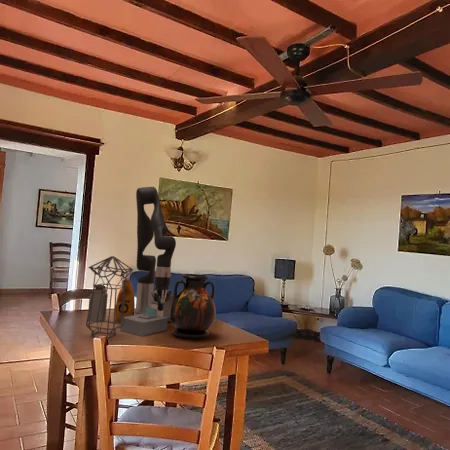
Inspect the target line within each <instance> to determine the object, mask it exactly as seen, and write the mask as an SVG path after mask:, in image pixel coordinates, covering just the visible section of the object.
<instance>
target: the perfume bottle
mask: <svg viewBox="0 0 450 450" xmlns="http://www.w3.org/2000/svg"><path fill="white" fill-rule="evenodd" d="M96 286H100V287H95V291H94V298H93V304H92V311H91V318H90V321H91V322H94V321H96V320H97V315H98V309H99V304H100V298H101V292H102V288H101V287H103V284H101V285H97V284H96ZM92 292H93V289H91V293H90V294H89V298H88V310H87V311H89V307H90V302H91V297H92ZM105 295H106V288H103V294H102V299H101V305H100V310H99V316H98V321H102V318H103V310H104V303H105ZM108 295H109V294H108V293H107V297H106V304H105V312H104V319H103V321H107V308H108ZM90 309H91V308H90ZM89 316H90V313H89ZM88 322H89V318H88ZM91 322H90V323H91Z"/></svg>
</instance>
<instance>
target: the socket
mask: <svg viewBox="0 0 450 450" xmlns="http://www.w3.org/2000/svg"><path fill="white" fill-rule="evenodd" d="M167 321H168V318H167V317H162V316H157V317H154V318H149V319H147V318H142V317H138V316H137V314H134V315H133V316H127V317H124V326H122V327H121V328H119V331H121V332H123V333H124V332H125V333H128V334H132V335H137V336H139V337H144V336H149V335H151V334H152V335H153V334H157V333H161V332H165V331H167V330H168V322H167ZM121 323H123V317H122V320H121ZM119 326H121V324H120V325H119Z"/></svg>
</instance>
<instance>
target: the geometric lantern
mask: <svg viewBox="0 0 450 450" xmlns="http://www.w3.org/2000/svg"><path fill="white" fill-rule="evenodd" d="M112 260H113V263H114V267H113V266H112V267H111V266H110V264H111V261H112ZM95 266H96V267H95ZM124 266H125V267H126V268H125V267H124ZM104 268H105V270H104ZM88 269H90V270H91V272H92V273H94V276H93V277H94V278H93V283H92V284H93V285H92V286H93V287H92V288H93V289H92V290H93V292H92V291H91V294H92V297H91V302H90V307H89V306H88V308H89V311H88V310H87V311H88V312H87V316H86V321H85V322H86V323H85V326H86V328H88V330H89V331H91V335H90V337H92V338H96V337H95V336H96V334H105V335H106V337H108V338H107V339H110V338H112V337H114V336H115V335H117V331H118V330H120V328H121V327H122V326H124V302H125V283H126V278H128V277H129V275H130V274H131V273H132V272H133V271H134V269H133V268H132V267H130V266H129V265H127V264H126V263H125V262H123V261H122V260H121V259H119V258H117V257H115V256H113V255H111V256H109V257H107V258H105V259H103V260H101V261H98V262H96V263H94V264H91V265H90V266H88ZM112 269H113V270H112ZM102 272H104V275H101V273H102ZM110 272H111V273H110ZM106 273H109V274H107V275H106ZM118 273H120V274H118ZM96 275H97V276H98V279H97V281H96ZM125 275H126V276H125ZM110 276H111V277H110ZM115 276H117V277H120V280H119V282H118V283H117V284H111V283H110V282H111V281H112V280H113V278H114V277H115ZM108 277H110V279H109V278H108ZM103 278H105V279H106V281H107V283H105V282H104V280H103ZM100 279H101V281H102V283H98V282H99V280H100ZM124 280H125V283H124V282H123V281H124ZM120 283H122V285H121V284H120ZM119 284H120V285H119ZM96 285H103V287H101V288H102V292H101V298H100V304H99V309H98V315H97V320H96V321H94V322H90V318H91V311H92V304H93V298H94V291H95V287H100V286H96ZM112 286H115V287H112ZM121 288H123V296H122V307H121V318H120V323H116V321H115V310H116V301H117V291H118V290H119V289H120V290H121ZM103 289H106V292H105V293H106V295H105V303H104V310H103V318H102V321H98V316H99V310H100V305H101V299H102V294H103ZM108 289H109V290H110V296H109V297H110V298H109V305H108V306H109V308H108V316H107V317H108V318H107V320H104V321H103V319H104V312H105V304H106V297H107V294H108ZM113 290H114V291H115V293H114V307H113V309H114V311H113V321H110V317H111V307H112V296H113ZM90 308H91V309H90ZM122 309H123V323H121V320H122ZM89 313H90V316H89ZM88 318H89V321H88ZM94 323H96V325H97V326H94V325H92V324H94ZM98 323H100V326H99V324H98ZM103 323H107V326H106V327H102V325H103ZM110 324H113V325H112V327H111V328H109V327H110V326H109V325H110ZM115 324H116V325H115ZM120 324H121V326H120ZM92 328H95V329H92ZM96 330H97V331H96ZM101 330H103V331H101ZM104 330H105V332H104ZM106 331H107V332H106ZM109 331H110V332H109Z"/></svg>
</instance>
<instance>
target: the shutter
mask: <svg viewBox="0 0 450 450" xmlns="http://www.w3.org/2000/svg"><path fill="white" fill-rule="evenodd" d="M156 313H157V309H154V308H149V307H146V312H145V313H141V314H139V313H136V315H137V316H138V317H142V318H147V319H149V318H154V317H157V315H156Z"/></svg>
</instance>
